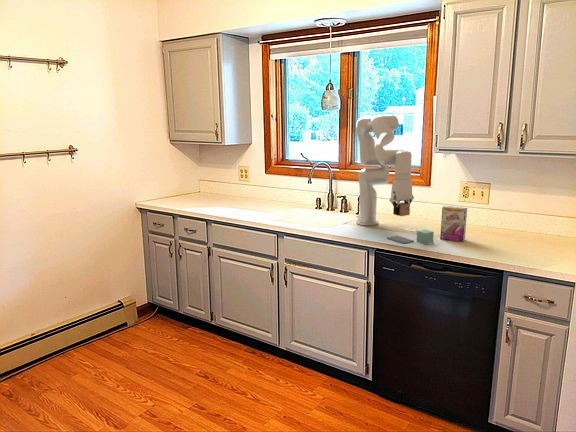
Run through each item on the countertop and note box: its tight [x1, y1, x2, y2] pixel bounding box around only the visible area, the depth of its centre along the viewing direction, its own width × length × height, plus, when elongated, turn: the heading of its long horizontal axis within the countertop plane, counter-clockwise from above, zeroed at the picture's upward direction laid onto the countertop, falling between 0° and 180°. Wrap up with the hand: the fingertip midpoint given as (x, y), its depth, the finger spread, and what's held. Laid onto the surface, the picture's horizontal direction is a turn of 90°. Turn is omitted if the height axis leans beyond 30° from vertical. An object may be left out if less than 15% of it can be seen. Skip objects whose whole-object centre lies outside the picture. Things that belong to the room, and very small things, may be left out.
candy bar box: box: [439, 205, 468, 243], centre depth 234 cm, size 11×5×16 cm, turn 59°
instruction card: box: [403, 227, 418, 232], centre depth 256 cm, size 6×4×1 cm, turn 30°
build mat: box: [386, 235, 415, 245], centre depth 235 cm, size 12×7×1 cm, turn 30°
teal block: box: [416, 229, 434, 245], centre depth 231 cm, size 6×6×6 cm
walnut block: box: [392, 201, 411, 217], centre depth 232 cm, size 6×6×6 cm
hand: (401, 213), depth 232 cm, fingers closed on walnut block, 5 cm apart
